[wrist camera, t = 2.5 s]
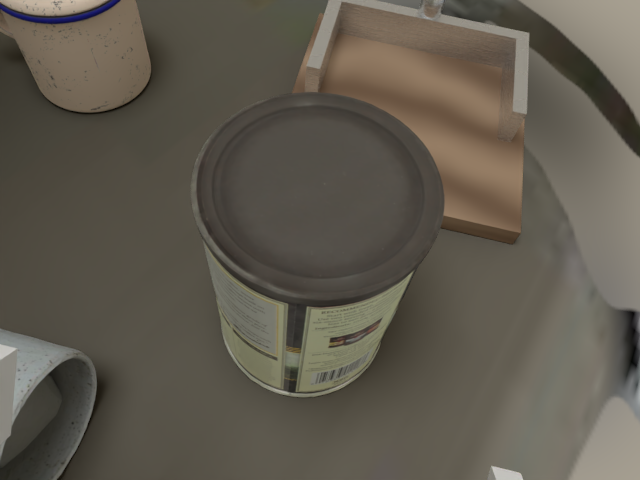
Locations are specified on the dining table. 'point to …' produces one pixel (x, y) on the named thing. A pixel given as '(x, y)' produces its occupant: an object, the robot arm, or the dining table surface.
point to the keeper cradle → (430, 45)
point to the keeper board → (440, 124)
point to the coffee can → (312, 234)
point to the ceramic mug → (46, 408)
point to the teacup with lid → (81, 50)
